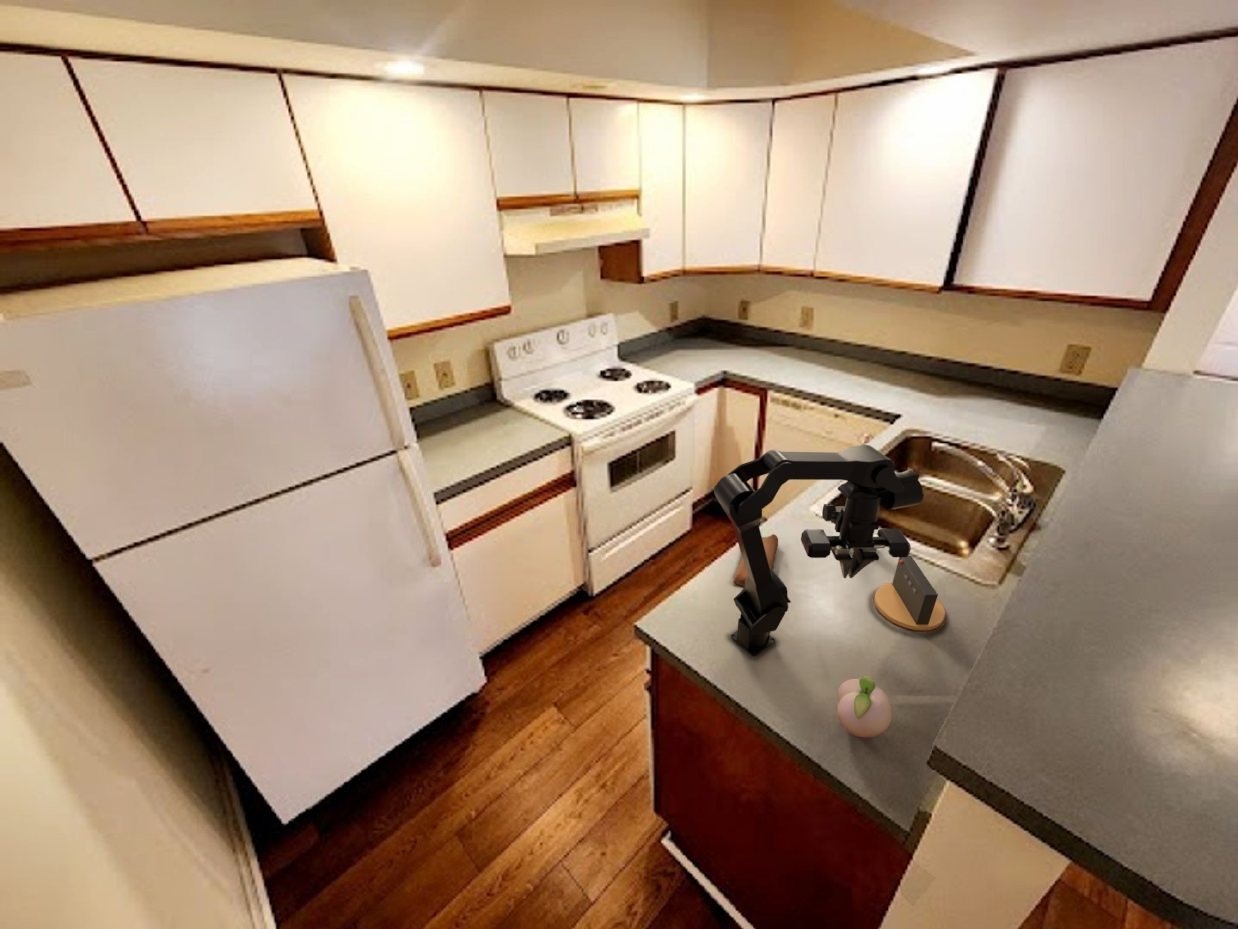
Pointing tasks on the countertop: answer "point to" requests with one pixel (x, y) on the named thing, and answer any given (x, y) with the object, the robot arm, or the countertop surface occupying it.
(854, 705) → the decorative fruit
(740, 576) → the sunglasses case
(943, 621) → the turntable base
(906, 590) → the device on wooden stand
